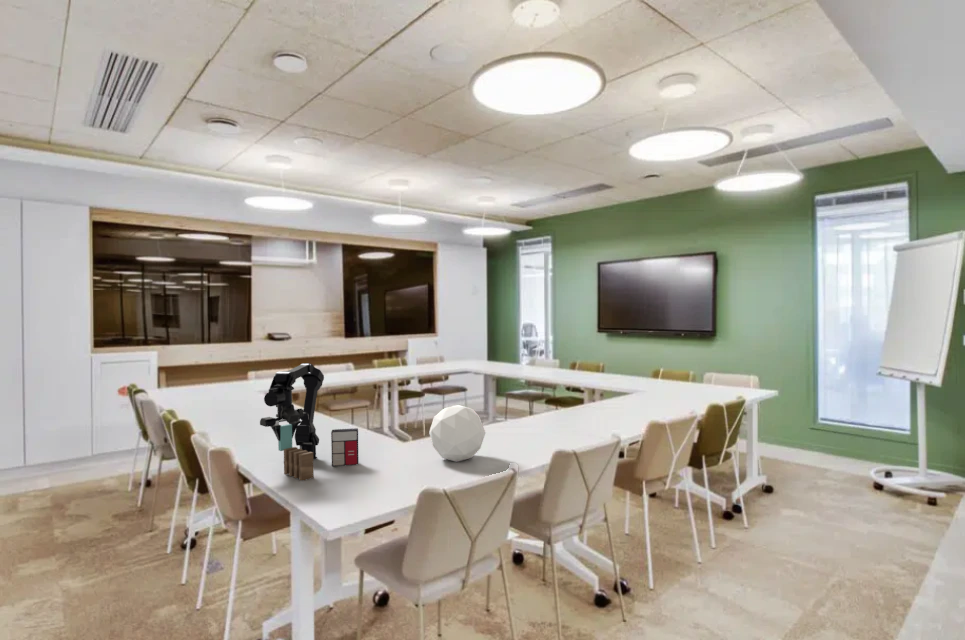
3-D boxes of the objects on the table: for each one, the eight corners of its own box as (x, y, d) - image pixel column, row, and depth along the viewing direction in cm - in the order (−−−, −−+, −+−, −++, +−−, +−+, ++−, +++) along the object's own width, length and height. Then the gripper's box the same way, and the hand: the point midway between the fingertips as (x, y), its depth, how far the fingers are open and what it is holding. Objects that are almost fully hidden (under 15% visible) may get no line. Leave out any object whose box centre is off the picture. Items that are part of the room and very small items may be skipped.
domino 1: (278, 450, 217) (278, 426, 217) (290, 447, 221) (289, 424, 221) (280, 451, 216) (280, 426, 216) (292, 448, 219) (292, 424, 219)
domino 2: (284, 473, 214) (283, 449, 214) (295, 470, 218) (295, 446, 218) (286, 474, 213) (286, 450, 213) (298, 471, 217) (297, 447, 217)
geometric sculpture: (463, 482, 228) (460, 445, 212) (421, 454, 240) (415, 417, 224) (496, 446, 242) (495, 409, 226) (454, 421, 254) (451, 385, 239)
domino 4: (294, 477, 209) (293, 452, 209) (305, 474, 213) (305, 450, 213) (296, 478, 208) (296, 453, 208) (308, 475, 212) (307, 450, 211)
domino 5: (299, 479, 206) (298, 454, 206) (310, 476, 210) (310, 451, 210) (301, 480, 205) (301, 455, 205) (313, 477, 209) (313, 452, 209)
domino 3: (289, 475, 212) (288, 450, 212) (300, 472, 216) (300, 448, 215) (291, 476, 210) (291, 451, 210) (303, 473, 214) (302, 449, 214)
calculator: (331, 467, 223) (331, 431, 223) (332, 464, 227) (331, 429, 227) (358, 465, 225) (357, 430, 225) (358, 462, 230) (358, 428, 229)
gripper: (271, 407, 206) (272, 447, 206) (315, 401, 219) (316, 438, 220) (259, 404, 213) (259, 442, 213) (301, 398, 227) (302, 434, 227)
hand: (285, 439), depth 218 cm, fingers closed on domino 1, 5 cm apart
